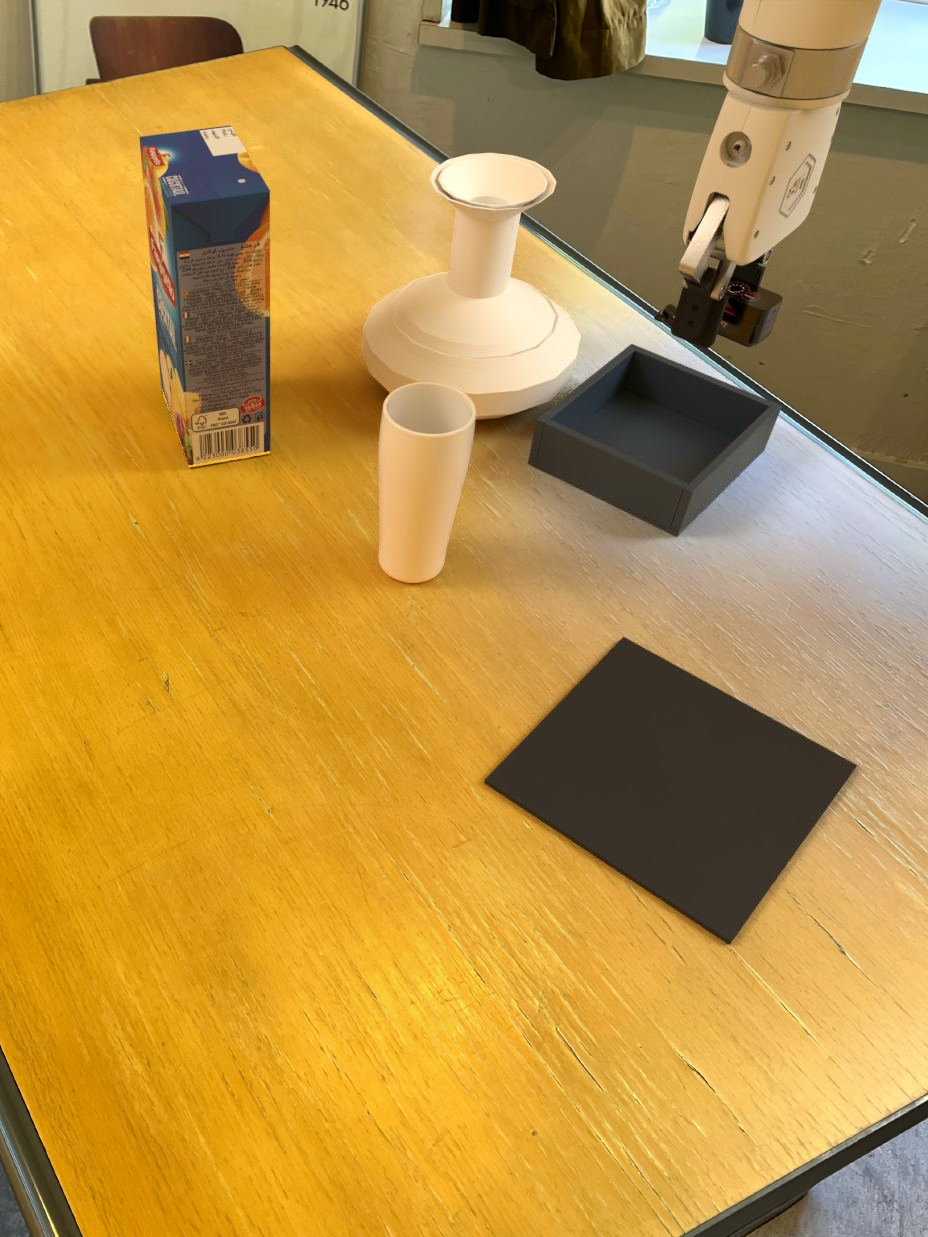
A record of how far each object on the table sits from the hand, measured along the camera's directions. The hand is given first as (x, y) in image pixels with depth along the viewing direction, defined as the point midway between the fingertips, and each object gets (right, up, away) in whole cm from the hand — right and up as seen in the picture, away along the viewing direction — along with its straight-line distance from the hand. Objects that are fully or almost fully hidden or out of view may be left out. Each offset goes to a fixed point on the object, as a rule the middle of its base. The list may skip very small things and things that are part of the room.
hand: (710, 323), depth 83 cm
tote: (+1, -7, +17) cm, 18 cm away
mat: (-5, -33, -6) cm, 34 cm away
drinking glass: (-21, -17, +8) cm, 28 cm away
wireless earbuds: (0, 0, +1) cm, 1 cm away
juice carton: (-37, -3, +21) cm, 43 cm away
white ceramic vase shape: (-13, +2, +25) cm, 29 cm away
